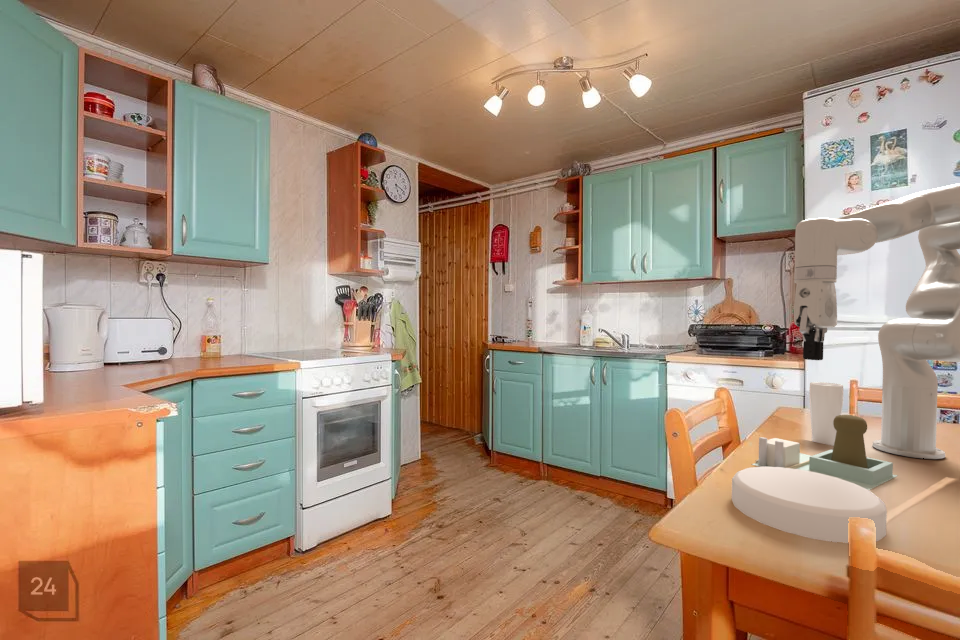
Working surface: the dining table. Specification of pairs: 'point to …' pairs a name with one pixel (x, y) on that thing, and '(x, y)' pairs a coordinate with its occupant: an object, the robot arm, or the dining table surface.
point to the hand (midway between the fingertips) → (812, 359)
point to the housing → (784, 452)
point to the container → (805, 502)
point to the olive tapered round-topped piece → (850, 440)
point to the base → (832, 466)
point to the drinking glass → (824, 410)
